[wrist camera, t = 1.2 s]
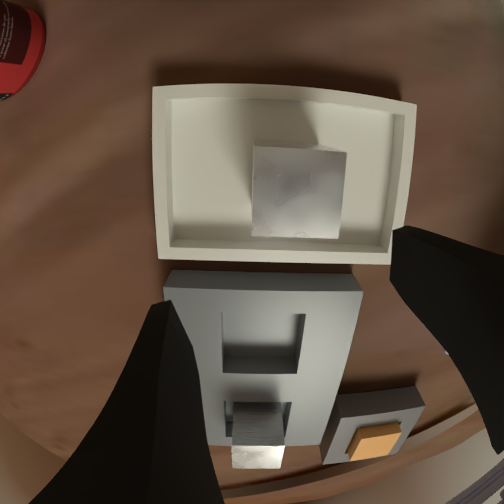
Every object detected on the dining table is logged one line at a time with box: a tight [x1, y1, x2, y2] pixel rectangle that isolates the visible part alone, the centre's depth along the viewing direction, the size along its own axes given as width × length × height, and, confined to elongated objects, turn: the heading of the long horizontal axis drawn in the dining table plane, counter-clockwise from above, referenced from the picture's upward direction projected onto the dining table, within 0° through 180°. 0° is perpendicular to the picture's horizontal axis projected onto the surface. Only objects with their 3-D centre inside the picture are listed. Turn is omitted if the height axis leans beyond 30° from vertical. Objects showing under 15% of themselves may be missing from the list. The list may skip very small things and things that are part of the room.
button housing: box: [319, 386, 426, 464], centre depth 28 cm, size 9×9×3 cm
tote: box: [152, 84, 417, 264], centre depth 19 cm, size 16×11×2 cm
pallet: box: [163, 269, 363, 446], centre depth 25 cm, size 13×18×3 cm
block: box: [232, 402, 285, 468], centre depth 24 cm, size 4×4×6 cm
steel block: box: [251, 140, 347, 239], centre depth 16 cm, size 4×4×6 cm
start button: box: [347, 422, 402, 461], centre depth 27 cm, size 4×4×3 cm
